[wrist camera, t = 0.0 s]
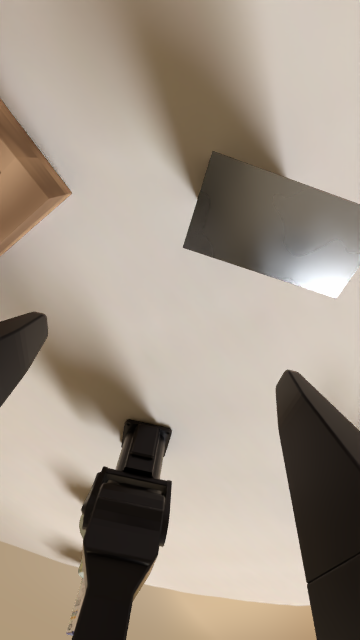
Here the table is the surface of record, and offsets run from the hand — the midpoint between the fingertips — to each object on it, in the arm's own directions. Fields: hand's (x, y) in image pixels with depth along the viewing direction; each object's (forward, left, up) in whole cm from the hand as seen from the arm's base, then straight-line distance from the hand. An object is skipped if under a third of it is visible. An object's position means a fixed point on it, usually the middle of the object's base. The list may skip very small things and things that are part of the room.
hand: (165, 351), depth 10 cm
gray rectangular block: (+5, -3, -15) cm, 16 cm away
